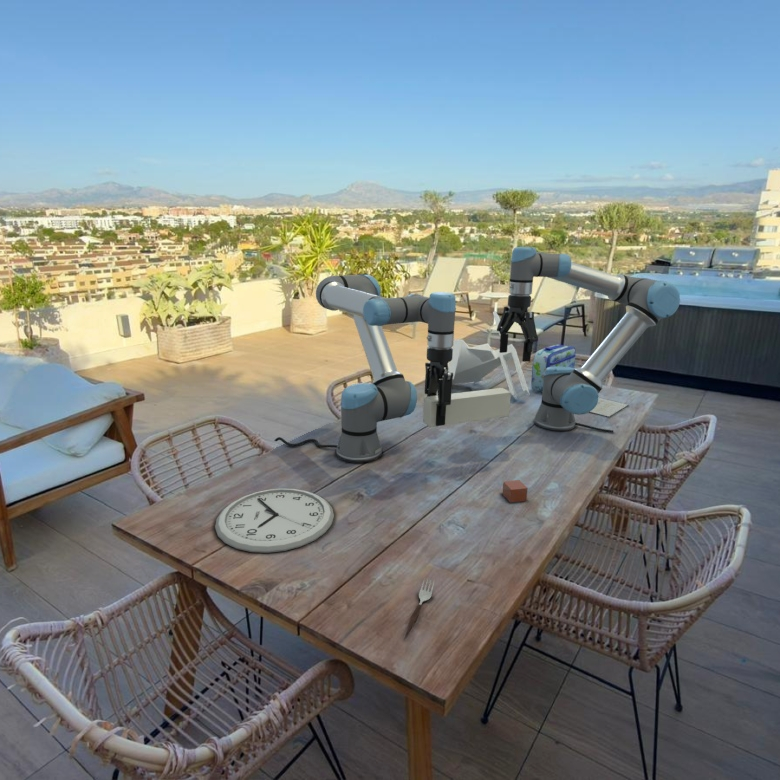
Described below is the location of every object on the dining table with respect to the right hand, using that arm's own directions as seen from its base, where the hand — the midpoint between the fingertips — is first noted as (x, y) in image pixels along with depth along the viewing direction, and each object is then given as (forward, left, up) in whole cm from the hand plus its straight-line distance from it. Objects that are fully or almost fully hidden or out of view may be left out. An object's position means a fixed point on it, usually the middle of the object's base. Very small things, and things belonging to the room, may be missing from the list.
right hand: (514, 356), depth 181 cm
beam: (+16, +26, -14) cm, 34 cm away
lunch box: (-27, -66, -31) cm, 78 cm away
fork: (+26, +94, -31) cm, 102 cm away
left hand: (+25, +31, -14) cm, 42 cm away
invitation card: (-44, -43, -31) cm, 69 cm away
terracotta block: (+2, +44, -31) cm, 54 cm away
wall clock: (+65, +65, -31) cm, 97 cm away
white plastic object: (+8, -55, -31) cm, 63 cm away
